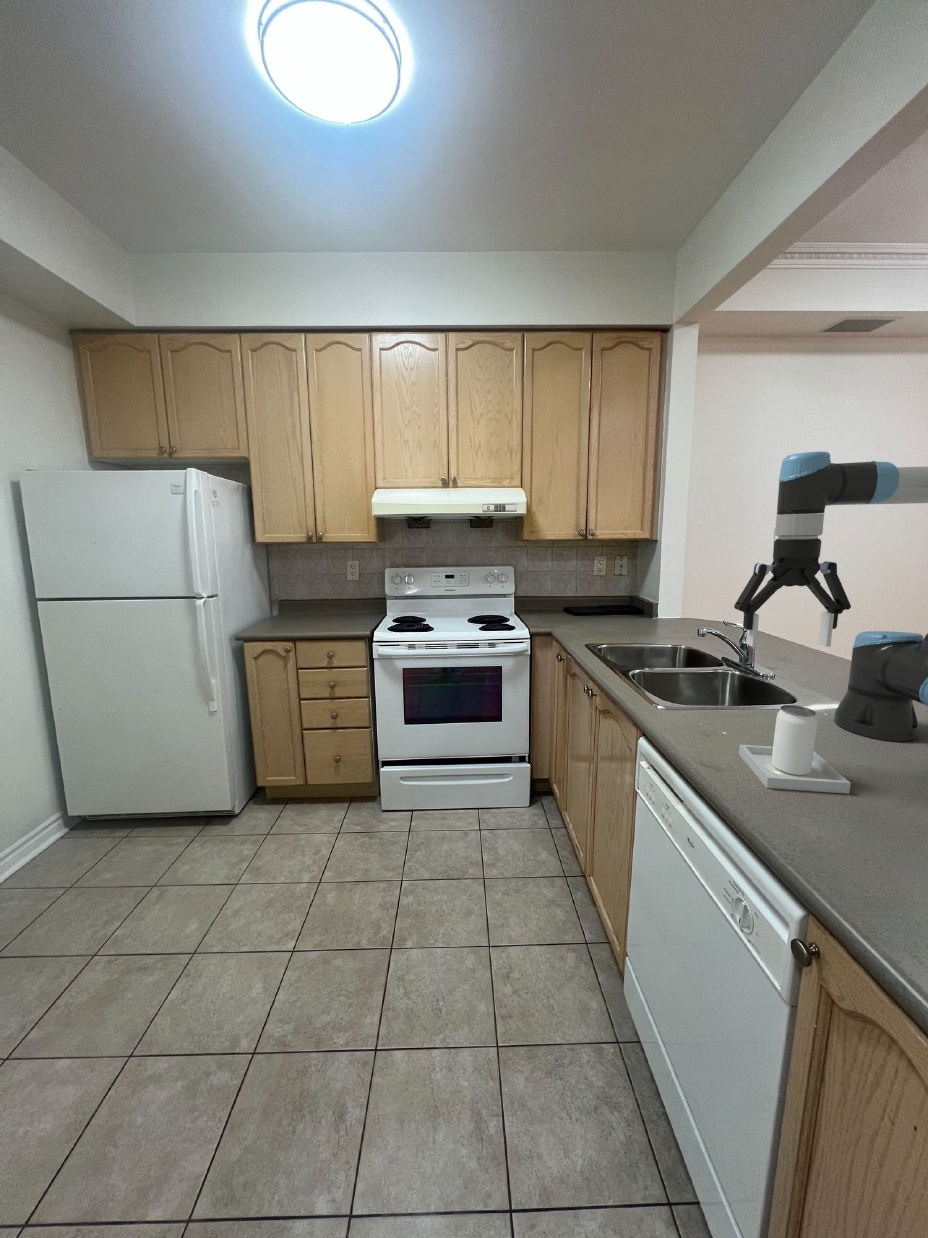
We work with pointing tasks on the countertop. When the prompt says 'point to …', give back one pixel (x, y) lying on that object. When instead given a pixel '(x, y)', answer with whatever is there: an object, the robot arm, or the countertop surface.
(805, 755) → the can
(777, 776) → the flange tray
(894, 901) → the countertop surface
